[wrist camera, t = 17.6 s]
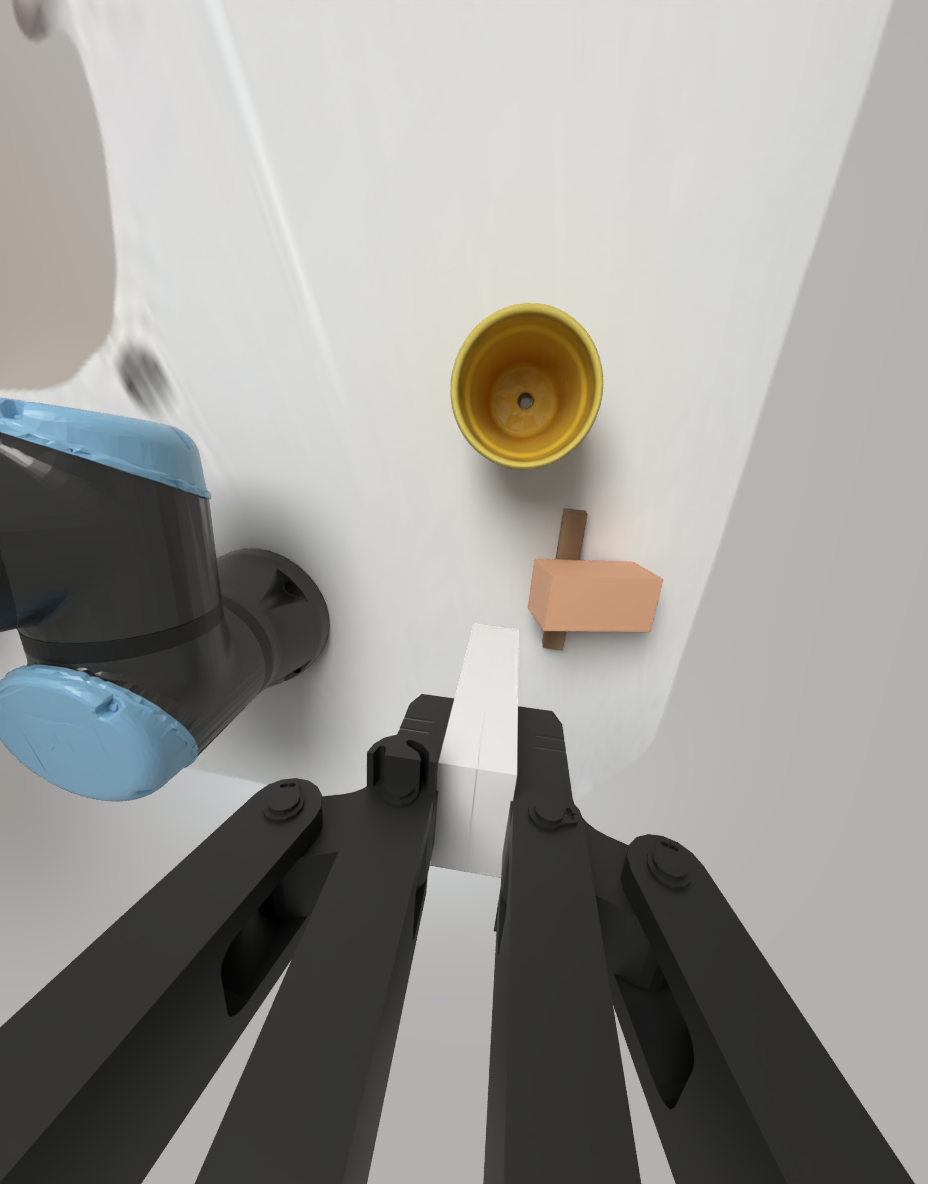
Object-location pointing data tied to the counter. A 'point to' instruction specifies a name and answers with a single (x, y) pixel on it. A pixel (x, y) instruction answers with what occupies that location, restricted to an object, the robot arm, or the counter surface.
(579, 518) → the wooden plank
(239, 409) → the counter surface
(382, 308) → the counter surface
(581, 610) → the block
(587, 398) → the plant pot
